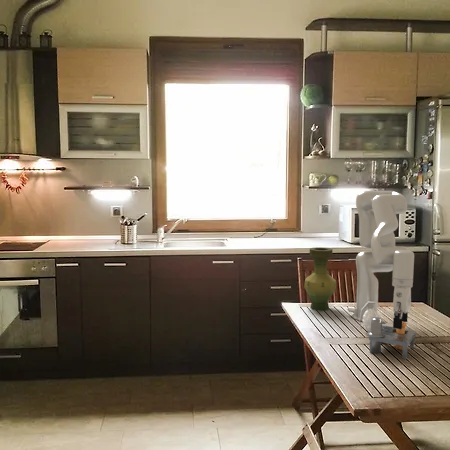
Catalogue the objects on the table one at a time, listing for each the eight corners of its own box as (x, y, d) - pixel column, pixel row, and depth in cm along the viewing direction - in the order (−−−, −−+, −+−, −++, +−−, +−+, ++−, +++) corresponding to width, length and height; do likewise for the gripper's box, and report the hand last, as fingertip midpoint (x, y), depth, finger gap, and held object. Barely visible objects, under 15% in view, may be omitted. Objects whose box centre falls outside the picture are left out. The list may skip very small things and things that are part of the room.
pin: (392, 348, 194) (394, 323, 193) (395, 345, 197) (396, 320, 196) (404, 350, 192) (405, 325, 191) (406, 347, 195) (407, 322, 194)
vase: (310, 302, 262) (311, 245, 259) (340, 306, 254) (341, 248, 250) (298, 309, 248) (299, 250, 244) (329, 314, 240) (331, 252, 236)
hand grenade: (360, 333, 212) (361, 303, 210) (357, 328, 218) (358, 299, 216) (379, 334, 211) (380, 304, 209) (375, 329, 217) (377, 300, 216)
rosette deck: (357, 351, 191) (358, 318, 189) (369, 338, 205) (370, 308, 203) (406, 360, 181) (407, 326, 180) (415, 347, 195) (416, 314, 194)
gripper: (407, 288, 183) (405, 333, 185) (416, 278, 197) (414, 320, 199) (387, 285, 186) (384, 329, 189) (397, 276, 201) (395, 317, 203)
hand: (400, 324), depth 194 cm, fingers open, 9 cm apart
